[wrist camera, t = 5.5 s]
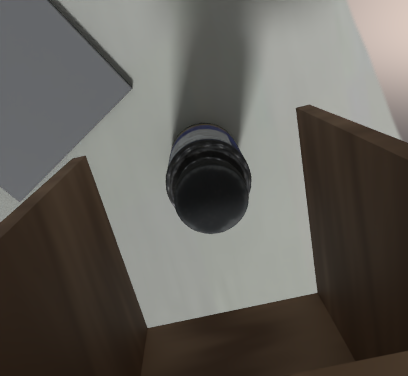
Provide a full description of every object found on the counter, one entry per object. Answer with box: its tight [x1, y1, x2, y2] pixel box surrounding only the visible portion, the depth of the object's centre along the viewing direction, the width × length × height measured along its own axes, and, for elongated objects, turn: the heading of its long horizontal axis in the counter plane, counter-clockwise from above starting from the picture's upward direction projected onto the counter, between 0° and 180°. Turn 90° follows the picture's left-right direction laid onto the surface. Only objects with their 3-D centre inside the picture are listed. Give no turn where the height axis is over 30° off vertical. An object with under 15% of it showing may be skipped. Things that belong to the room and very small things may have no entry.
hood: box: [0, 105, 408, 376], centre depth 11 cm, size 11×11×13 cm
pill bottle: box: [166, 123, 251, 234], centre depth 26 cm, size 6×6×11 cm
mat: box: [0, 0, 132, 202], centre depth 28 cm, size 15×15×1 cm
